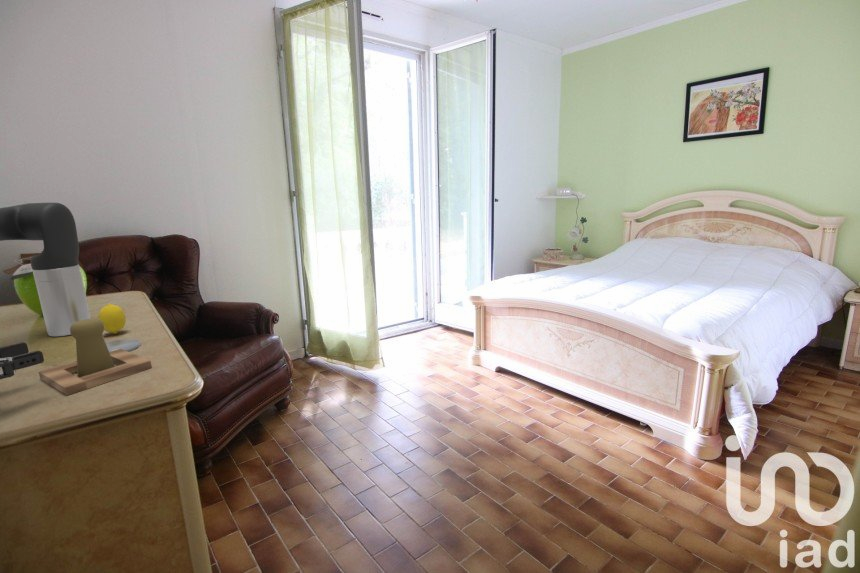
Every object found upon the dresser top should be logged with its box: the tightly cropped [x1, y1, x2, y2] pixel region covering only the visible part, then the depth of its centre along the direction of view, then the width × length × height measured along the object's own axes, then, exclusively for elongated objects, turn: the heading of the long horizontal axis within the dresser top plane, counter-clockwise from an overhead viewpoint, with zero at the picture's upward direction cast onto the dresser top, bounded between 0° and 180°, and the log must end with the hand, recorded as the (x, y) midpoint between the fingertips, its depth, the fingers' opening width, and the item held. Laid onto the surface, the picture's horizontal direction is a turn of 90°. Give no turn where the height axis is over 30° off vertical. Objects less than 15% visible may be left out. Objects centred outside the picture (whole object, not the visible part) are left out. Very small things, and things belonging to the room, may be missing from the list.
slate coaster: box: [105, 338, 142, 352], centre depth 100 cm, size 10×10×1 cm
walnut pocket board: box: [38, 349, 153, 396], centre depth 86 cm, size 14×14×2 cm
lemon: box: [98, 303, 127, 335], centre depth 110 cm, size 6×6×8 cm
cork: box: [70, 318, 116, 378], centre depth 85 cm, size 6×6×11 cm
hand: (34, 351), depth 78 cm, fingers open, 8 cm apart
